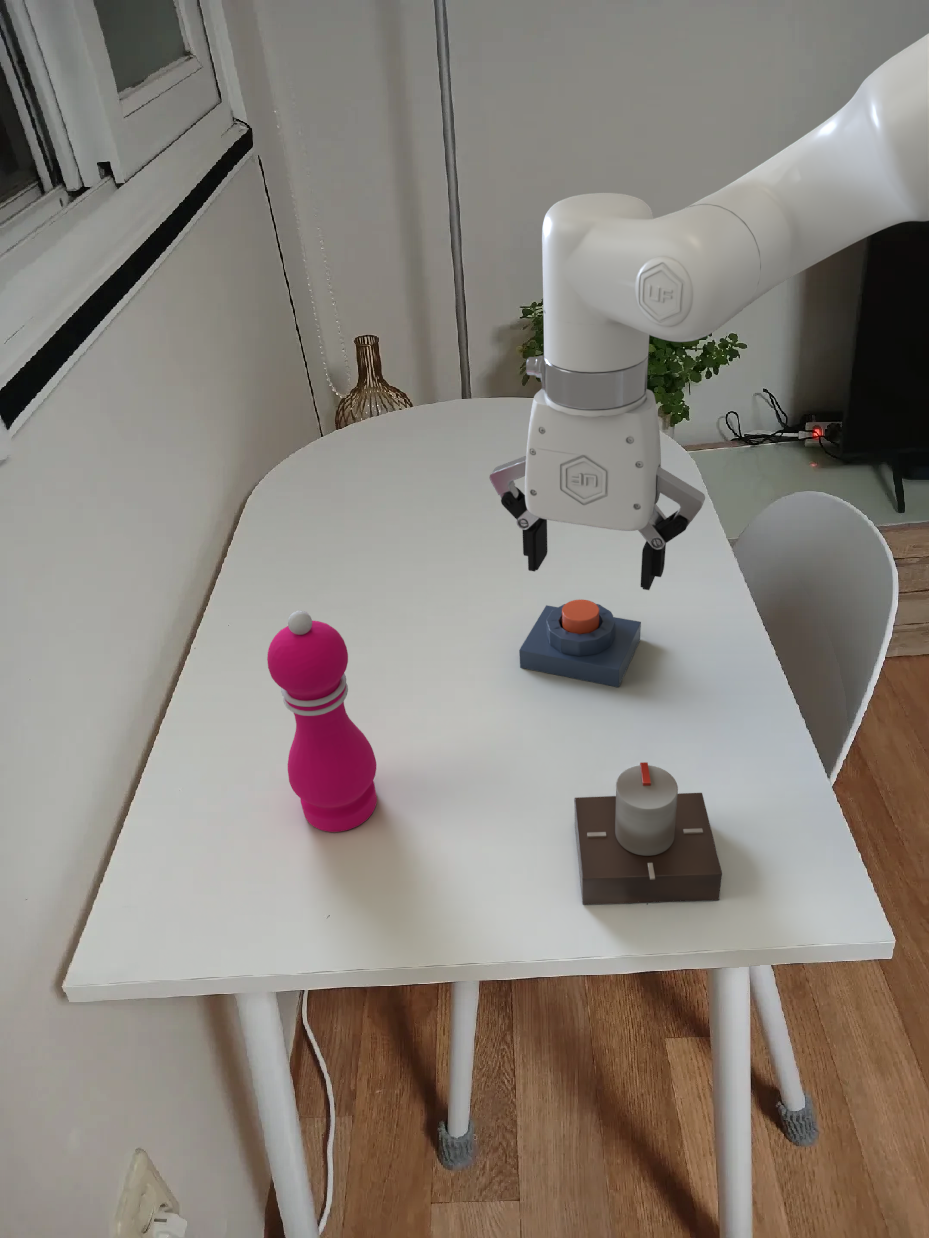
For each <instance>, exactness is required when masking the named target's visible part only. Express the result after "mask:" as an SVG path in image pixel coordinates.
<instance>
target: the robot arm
mask: <svg viewBox="0 0 929 1238" xmlns="http://www.w3.org/2000/svg"><path fill="white" fill-rule="evenodd" d="M906 222H929V32H928V33H926V35H924V36H922V37H921V38H919V39H918V40H917V41H915V42H913V43H911V44H910V45H909V46H906V47H905V48H904V49H902V50H901V51H899V52H897V53H896V54H895V55H893V56H891V57H890V58H889V59H887V60H886V61H885V62H884V63H882V64H881V65H879V67H877V68H876V69H874V71H872V72H871V73H870V74H869V75H867V77H866V78H865V79H864V80H863V81H862V83H861V84H860V85H859V87H858V88H857V90H856V92H855V93H854V94H853V96H852V97H851V98H850V99H849V101H848V102H846V104H844V105H843V106H842V107H841V108H840V109H839V110H838V111H836V112H835V113H834V114H832V115H831V116H830V117H828V118H827V119H826V120H824V121H823V122H822V123H819V125H817V126H816V127H815V128H813V129H812V130H810V131H809V132H807V133H805V134H804V135H803V136H802V137H800V138H798V139H797V140H796V141H794V142H793V143H791V144H789V145H788V146H787V147H784V149H782V150H781V151H779V152H777V153H775V154H774V155H773V156H772V157H770V158H768V159H767V160H765V161H764V162H762V163H760V164H759V165H757V166H756V167H754V168H753V169H751V170H750V171H748V172H747V173H745V174H743V175H742V176H740V177H738V178H737V179H736V180H734V181H732V182H731V183H728V184H727V185H725V186H723V187H721V188H720V189H719V190H717V191H715V192H712V193H711V194H709V195H706V196H704V197H703V198H701V199H698V201H695V202H693V203H691V204H690V205H688V206H686V207H684V208H682V209H679V210H676V211H674V212H670V213H668V214H664V215H661V216H658V217H655V216H654V214H653V211H652V208H651V207H650V206H649V204H647V202H645V201H644V199H642V198H639V197H637V196H634V195H630V194H625V193H619V192H592V193H583V194H577V195H573V196H569V197H566V198H563V199H561V200H559V201H557V202H555V203H554V204H553V205H551V207H550V208H548V210H547V212H546V213H545V215H544V218H543V222H542V230H541V250H542V251H541V252H542V253H541V254H542V255H541V257H542V308H543V310H542V313H543V315H542V316H543V354H542V355H538V356H537V357H536V356H528V357H527V360H526V363H525V372H526V375H527V376H535V377H536V378H539V379H540V382H541V389H540V390H539V391H537V392H536V393H535V394H534V396H533V400H532V403H531V404H532V405H531V409H530V417H529V424H528V430H527V431H528V432H527V441H526V442H527V443H526V453H525V455H524V456H521V457H518V458H516V459H513V460H511V461H509V462H506V463H503V464H500V465H498V466H496V467H495V468H494V469H493V470H492V472H490V474H489V481H490V482H491V485H492V486H493V488H494V490H495V491H496V493H497V496H499V497H500V503H501V505H502V506H503V507H504V509H506V510H507V512H509V513H510V515H511V516H512V517H513V518H514V519H515V520H516V527H518V528H519V529H520V530H522V531H521V532H522V555H523V556H525V557H527V567H528V568H527V569H528V571H529V572H536V571H539V568H540V567H541V565H542V564H543V563H544V561H545V560H546V559H545V558H547V555H548V521H552V522H558V523H564V524H571V525H578V526H586V527H592V528H599V529H607V530H613V531H621V532H636V531H637V532H639V533H640V535H641V536H642V537H643V538H644V540H645V543H644V545H643V547H642V551H641V568H640V569H641V570H640V588H642V590H646V591H650V589H651V587H652V586H653V585H652V584H653V583H654V581H655V578H656V577H657V578H661V577H662V576H663V573H664V570H665V562H666V550H667V549H666V548H667V547H666V546H667V543H669V542H671V540H673V539H675V538H676V537H677V536H679V535H681V534H682V533H684V532H685V531H686V529H687V528H688V526H689V525H690V524H691V522H692V521H693V520H694V518H695V517H696V516H697V515H698V513H699V512H700V510H701V509H702V508H703V505H704V503H705V500H706V495H705V493H703V491H700V490H699V489H697V488H695V487H694V486H692V485H691V484H690V483H687V482H686V481H684V480H682V479H681V478H679V477H677V476H675V475H674V474H672V473H671V472H669V471H667V470H666V469H664V468H663V467H662V452H661V451H662V450H661V447H662V446H661V433H660V423H659V422H660V421H659V413H658V407H657V401H656V396H655V393H654V392H653V390H651V389H648V368H649V350H650V349H649V348H650V336H651V337H654V338H656V339H659V340H664V341H668V342H675V343H686V342H687V343H688V342H694V341H698V340H700V339H702V338H706V337H707V336H708V335H711V334H712V333H714V332H716V331H717V330H718V329H720V328H721V327H723V326H724V325H725V324H726V323H728V322H729V321H731V319H733V318H734V317H735V316H737V315H738V314H740V313H741V312H742V311H743V310H744V309H745V308H747V307H748V306H749V305H751V304H752V303H754V302H755V301H757V300H758V299H759V298H761V297H762V296H763V295H765V294H767V293H768V292H770V291H771V290H772V289H774V288H776V287H777V286H779V285H780V284H782V283H784V282H785V281H788V280H789V279H791V278H792V277H795V276H796V275H798V274H799V273H801V272H803V271H805V270H807V269H808V268H811V267H812V266H815V265H816V264H817V263H820V262H822V261H823V260H825V259H827V258H829V257H831V256H832V255H834V254H836V253H838V252H840V251H842V250H844V249H846V248H847V247H849V246H851V245H853V244H855V243H857V242H859V241H861V240H864V239H865V238H867V237H869V236H872V235H874V234H875V233H878V232H880V231H882V230H885V229H888V228H890V227H892V226H895V225H898V224H901V223H906ZM521 478H524V492H522V490H521V489H520V488H519V487H517V486H516V482H515V480H519V479H521ZM661 494H662V495H663V496H665V497H666V498H668V499H670V500H672V501H673V502H675V503H676V504H677V505H679V508H678V509H677V510H676V511H674V512H673V513H672V514H671V515H669V516H666V515H665V514H664V512H663V511H662V510H661V508H660V507H659V506H658V502H659V500H660V495H661Z"/></svg>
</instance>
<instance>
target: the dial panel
mask: <svg viewBox="0 0 929 1238" xmlns="http://www.w3.org/2000/svg"><path fill="white" fill-rule="evenodd" d="M573 800H574V802H573V803H574V809H573V810H574V831H575V832H574V833H575V841H576V851H577V860H578V861H577V862H578V871H579V881H580V882H579V883H580V893H581V903H582V905H587V906H588V905H613V904H614V905H615V904H645V903H646V904H648V903H675V902H677V903H678V902H680V903H681V902H704V901H705V902H710V901H720V895H721V886H722V878H723V871H722V867H721V863H720V860H719V855H718V851H717V847H716V843H715V839H714V834H713V832H712V827H711V823H710V818H709V815H708V811H707V808H706V807H707V806H706V803H705V799H704V796H703V792H685V793H683V792H682V793H680V792H679V793H678V796H677V809H676V823H675V836H674V841H673V843H672V845H671V846H670V847H669V848H668V849H667V850H666V851H664V852H662V853H660V854H657V855H652V856H643V855H637V854H634V853H632V852H629V851H628V850H626V849H625V848H624V847H622V846H621V845H620V843H619V842H618V840H617V838H616V834H615V814H616V795H607V796H606V795H605V796H581V797H574V799H573Z"/></svg>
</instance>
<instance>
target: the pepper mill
mask: <svg viewBox="0 0 929 1238" xmlns="http://www.w3.org/2000/svg"><path fill="white" fill-rule="evenodd" d="M266 658H267V659H266V660H267V668H268V671H269V674H270V677H271V679H272V681H274V683H276V685H277V686H278V687H279V688H280V692H281V696H282V700H283V704H284V706H285V707H286V709H287V710H289V711H290V712H292V713H293V715H294V720H295V733H294V735H293V740H292V742H291V745H290V749H289V753H288V759H287V775H288V782H289V785H290V787H291V789H292V791H293V792H294V794H295V795H296V796H297V797H298V798H299V799H300V804H301V808H302V812H303V815H304V818H305V819H306V821H307V822H308V824H310V825H311V826H312V827H313V828H316V829H318V830H320V831H322V832H328V833H340V832H344V831H345V832H346V831H349V830H352V829H354V828H356V827H359V826H360V825H362V824H364V822H366V821H367V820H368V819H369V818H370V817H371V816H372V814H373V813H374V811H375V809H376V807H377V803H378V797H377V791H376V786H375V782H374V779H375V777H376V773H377V759H376V756H375V752H374V749H373V746H372V745H371V743H370V741H369V740H368V739H367V738H368V737H366V735H365V734H364V733H363V732H362V731H361V729H360V728H359V727H358V726H357V725H356V724H355V723H354V721H352V719H351V718H350V717H349V715H348V713H347V709H346V707H345V700H346V698H347V696H348V692H349V686H348V684H347V683H348V682H347V676H346V674H345V672H346V670H347V668H348V663H349V653H348V649H347V645H346V642H345V640H344V638H343V637H342V635H341V634H340V632H339V631H338V630H337V629H335V628H334V627H333V626H331V625H329V624H328V623H326V622H322V621H319V620H313V619H312V617H311V615H310V614H309V613H308V612H307V611H304V610H296V611H294V612H292V613H291V614H289V617H288V618H287V625H286V627H283V628H282V629H280V630H279V631H278V632H277V633H276V634H275V636H274V637H273V638H272V640H271V642H269V647H268V650H267V657H266Z"/></svg>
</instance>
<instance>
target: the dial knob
mask: <svg viewBox="0 0 929 1238" xmlns="http://www.w3.org/2000/svg"><path fill="white" fill-rule="evenodd" d="M615 783H616V784H615V796H616V814H615V834H616V838H617V840H618V842H619V843H620V845H621V846H622V847H624V848H625V849H626V850H628V851H629V852H632V853H634V854H637V855H643V856H652V855H657V854H660V853H662V852H664V851H666V850H667V849H668V848H669V847H670V846H671V845H672V843H673V841H674V836H675V823H676V809H677V796H678V794H679V793H678V792H679V786H678V783H677V781H676V779H675V777H674V776H673V775H672V774H671V773H670V772H668V771H667V770H665V769H663V768H661V767H658V766H655V765H649V763H648V762H647V761H645V762H643V761H641V762H639V765H636V766H631V767H629V768H627V769H625V770H624V771H622V772H621V773H620V775H619V776H618V777H617V780H616V782H615Z"/></svg>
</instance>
